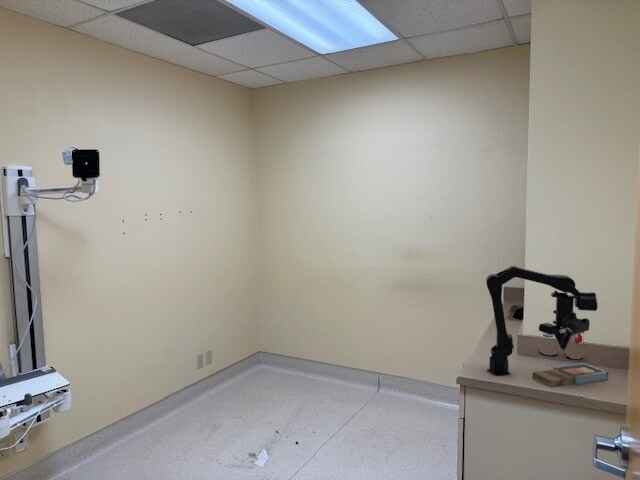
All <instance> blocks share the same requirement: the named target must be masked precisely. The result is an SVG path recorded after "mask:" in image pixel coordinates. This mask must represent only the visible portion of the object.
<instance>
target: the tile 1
mask: <svg viewBox="0 0 640 480" xmlns="http://www.w3.org/2000/svg"><path fill="white" fill-rule="evenodd" d="M562 372H564V373H566V374H568V375H570V376H573V377H575V376H578V375H584V373H583V372H581V371H578V370H576V369H573V368H571V369H565V370H562Z"/></svg>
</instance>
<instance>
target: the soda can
mask: <svg viewBox="0 0 640 480" xmlns="http://www.w3.org/2000/svg"><path fill="white" fill-rule="evenodd" d="M569 341H570V342H571V343H572V344H573V343H579V342H582V336H581V333H578V334H574V335H572V336H571V338H570V339H569Z"/></svg>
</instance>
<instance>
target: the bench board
mask: <svg viewBox="0 0 640 480" xmlns="http://www.w3.org/2000/svg"><path fill="white" fill-rule="evenodd" d="M532 379H533V381H536V382H537V383H541V384H543V385H544V386H546V387H549V388H557V387H562V386H563V387H564V386H569V385H576V384H575V377H573V376H570V375H568V374H566V373H564V372H561V371H559V370H557V369H554V368H553V369H548V370H540V371H533V372H532Z"/></svg>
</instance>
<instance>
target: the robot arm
mask: <svg viewBox="0 0 640 480" xmlns="http://www.w3.org/2000/svg"><path fill="white" fill-rule="evenodd" d="M515 278H519V279H521V280H522V279H523V280H527V281H531V282H535V283H538V284H543V285H546V286H549V287H551V288H553V289H555V290H553V292H552V293H550V296H551V298H556V300H555V302H556V303H555V310H553V314H555V320H552V323H549V322H546V323H540V324H539V325H538V332H539V331H541V332H544V333H547V334H551V335H552V334H554V335H555V337H556V339H557V341H558V346H559V347H560V350H563V351H565V348H566V346H567V344H568V342H569V339H570V338H571V336H572V335H574V334H578V333H582V334H585V332H588V331H590V325H591V324H590V319H588V318H577V313H576V312H574V307H575V308H577V311H591V312H596V311H597V310H598V303H599V302H598V300H597V294H596V293H595V292H594V291H593V292H592V291H591V292H580V290H578V288H577V287H576V282H575V281H574V279H573V278H571V277H570V276H568V275H564V274H563V275H562V274H547V273H545V272H544V273H542V272H539V271H534V270H530V269H525V268H522V267H518V266H515V265H511V266H510V267H507V268H506V269H504V270H502V271H499V272H497V273H491V274H489V275H488V276H487V277H486V280H485V281H486V286H487V290H488V292H489V295H490V298H491V302H492V308H493V315H494V321H495V328H496V337H495V338H496V342H495V345H493V346H492V347H491V348H490V355H491V356H489V368H487V369H486V371H487V372H489V373H491V374H492V375H495V376H497V377H500V376H506V375H511V372H510V371H509V359H508V357H510V355H512V354H513V349H515V346H514V342H513V341H514V339H513V335H512V334H511V333H510V334H509V333H508V331H507V325H506V319H505V313H504V307H503V301H502V300H503V299H502V293H503V285H505V284H506V283H508V282H510V281H511V280H513V279H515ZM558 291H559V292H558ZM553 324H554V325H553Z"/></svg>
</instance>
